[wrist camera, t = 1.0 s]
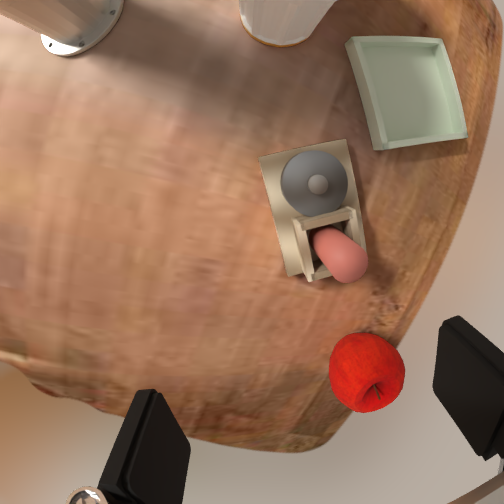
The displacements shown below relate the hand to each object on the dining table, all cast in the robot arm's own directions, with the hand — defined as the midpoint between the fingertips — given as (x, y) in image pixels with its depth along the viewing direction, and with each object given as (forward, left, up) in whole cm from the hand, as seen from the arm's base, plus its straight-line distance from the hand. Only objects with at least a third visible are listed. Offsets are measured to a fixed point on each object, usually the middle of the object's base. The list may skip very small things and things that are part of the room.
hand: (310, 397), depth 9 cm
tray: (-12, +23, -28) cm, 38 cm away
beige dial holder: (0, +7, -28) cm, 29 cm away
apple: (+21, +9, -29) cm, 36 cm away
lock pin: (+4, +7, -26) cm, 27 cm away
